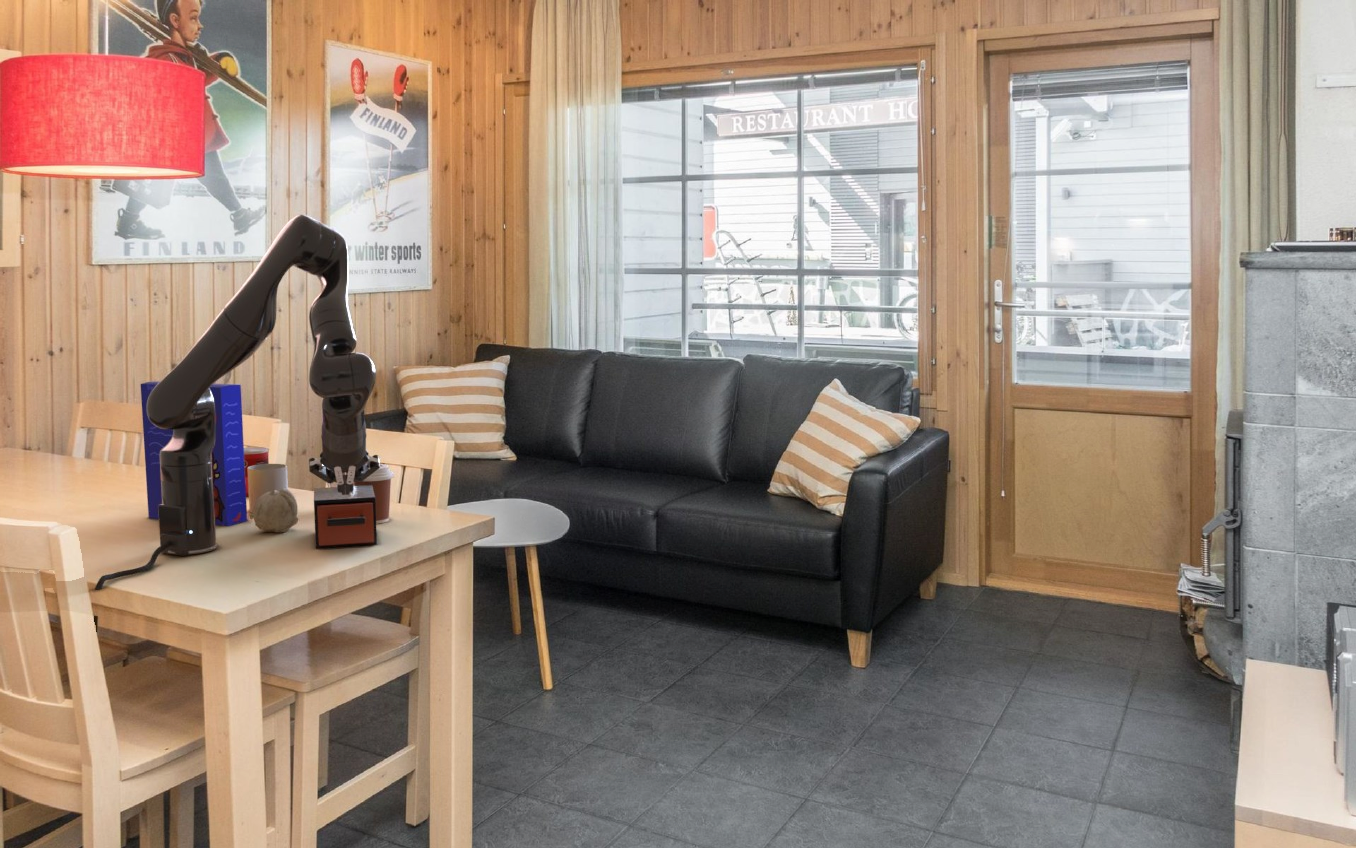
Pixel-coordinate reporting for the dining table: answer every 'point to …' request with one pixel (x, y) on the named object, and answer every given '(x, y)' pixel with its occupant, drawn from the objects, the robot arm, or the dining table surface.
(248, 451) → the canned food
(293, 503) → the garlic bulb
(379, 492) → the coffee cup
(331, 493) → the box
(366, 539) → the brown drawer box
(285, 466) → the cup
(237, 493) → the cereal box
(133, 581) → the dining table surface
